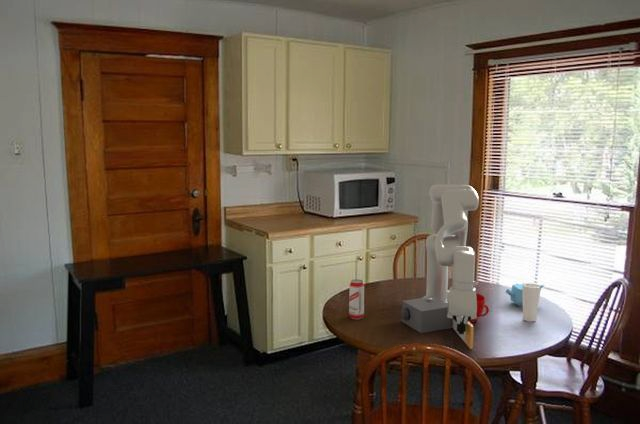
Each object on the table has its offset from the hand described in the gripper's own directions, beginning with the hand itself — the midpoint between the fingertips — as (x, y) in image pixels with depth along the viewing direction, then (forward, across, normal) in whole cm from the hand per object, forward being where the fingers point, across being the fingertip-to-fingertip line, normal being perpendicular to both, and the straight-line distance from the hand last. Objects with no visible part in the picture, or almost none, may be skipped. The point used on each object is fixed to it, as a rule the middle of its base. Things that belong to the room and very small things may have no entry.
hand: (460, 333), depth 199 cm
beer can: (+5, +40, -26) cm, 48 cm away
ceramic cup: (+5, -8, -27) cm, 29 cm away
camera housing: (+5, +11, -21) cm, 24 cm away
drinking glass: (+5, -33, -31) cm, 46 cm away
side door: (+5, -2, -8) cm, 9 cm away
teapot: (+5, -35, -52) cm, 63 cm away
